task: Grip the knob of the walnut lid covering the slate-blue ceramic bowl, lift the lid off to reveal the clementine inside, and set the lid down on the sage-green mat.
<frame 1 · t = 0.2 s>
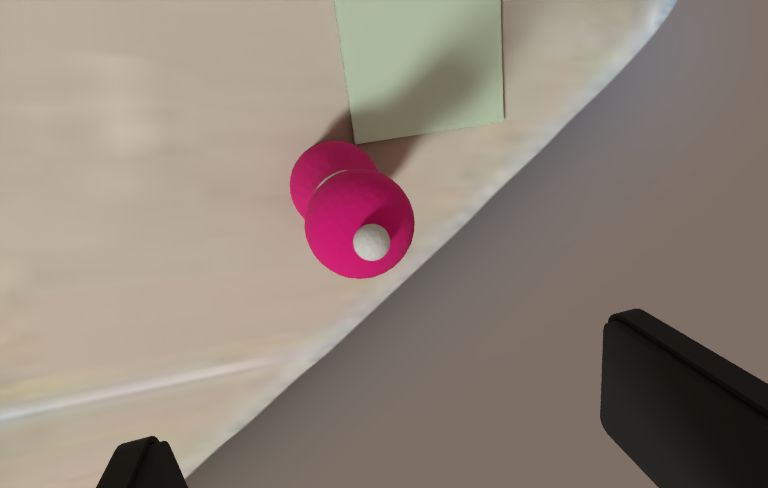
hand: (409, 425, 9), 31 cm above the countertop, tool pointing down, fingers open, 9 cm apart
pepper mill: (330, 177, 38), on the countertop
mat: (422, 48, 36), on the countertop
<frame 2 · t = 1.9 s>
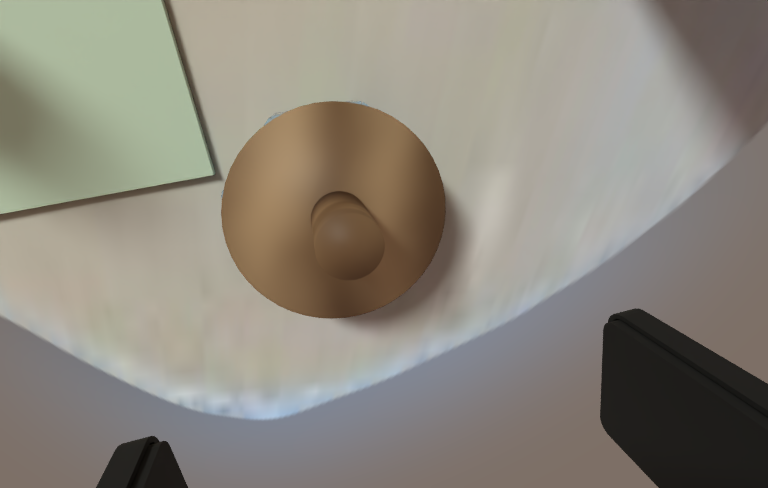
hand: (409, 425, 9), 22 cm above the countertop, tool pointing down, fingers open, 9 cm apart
lid: (338, 215, 24), point 5 cm above the countertop, touching bowl
mat: (52, 74, 24), on the countertop
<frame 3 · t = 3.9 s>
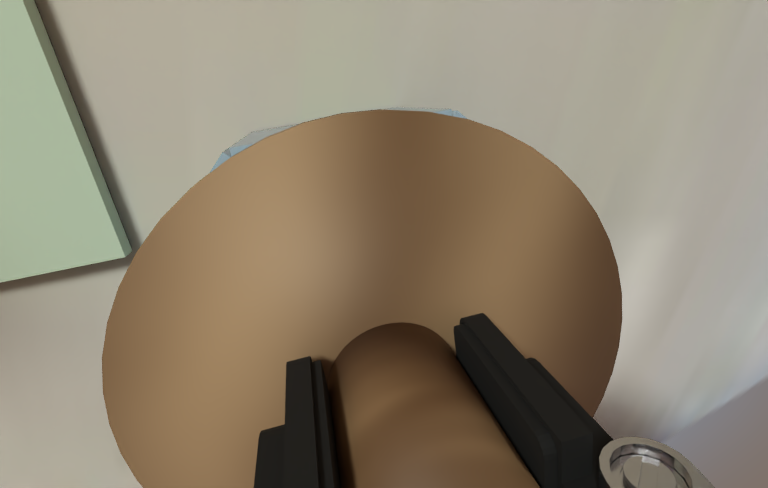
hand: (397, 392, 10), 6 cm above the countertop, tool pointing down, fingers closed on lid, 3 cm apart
lid: (386, 361, 11), point 5 cm above the countertop, touching bowl, gripper
bowl: (358, 284, 16), on the countertop
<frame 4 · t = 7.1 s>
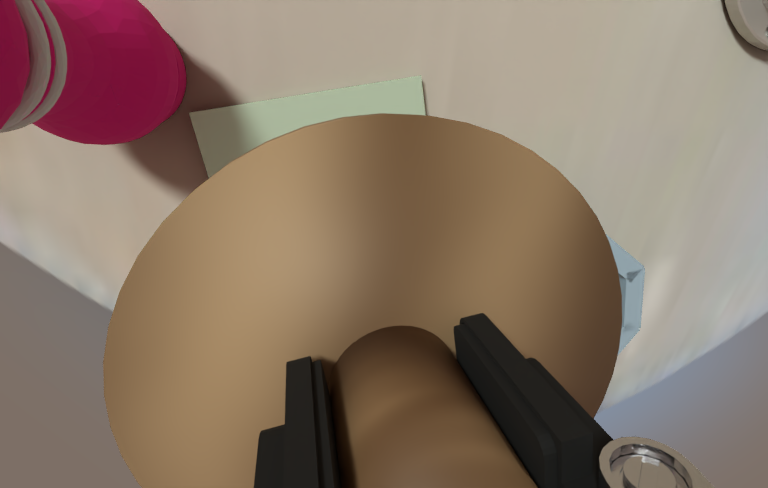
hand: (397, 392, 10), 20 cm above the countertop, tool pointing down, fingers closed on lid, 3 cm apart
pepper mill: (127, 71, 23), on the countertop
lid: (387, 364, 11), point 18 cm above the countertop, touching gripper
bowl: (528, 288, 33), on the countertop
mat: (331, 203, 28), on the countertop
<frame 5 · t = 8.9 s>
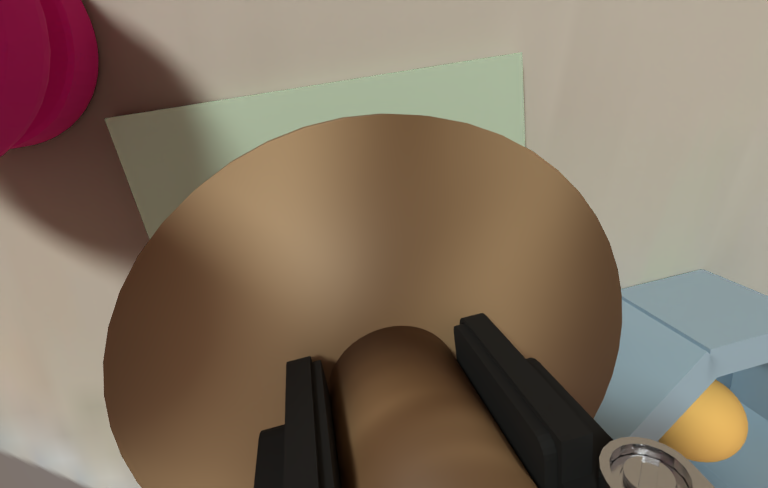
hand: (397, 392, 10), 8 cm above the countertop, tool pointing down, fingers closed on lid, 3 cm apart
clementine: (658, 387, 22), point 1 cm above the countertop, touching bowl
lid: (387, 364, 11), point 6 cm above the countertop, touching gripper
bowl: (649, 380, 22), on the countertop
mat: (360, 267, 17), on the countertop
when the fingers open (3 cm above the countertop, at t = 10.6 s): lid drops 1 cm, resting on mat.
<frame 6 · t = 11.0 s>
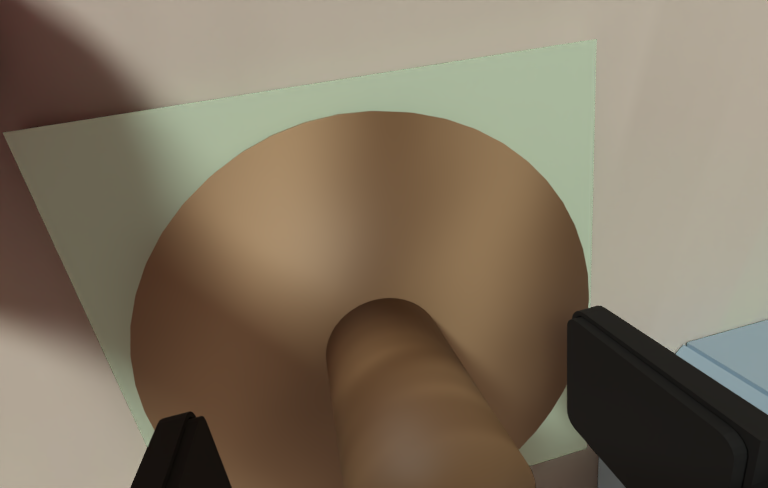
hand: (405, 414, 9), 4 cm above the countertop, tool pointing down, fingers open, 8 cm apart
lid: (378, 335, 12), point 1 cm above the countertop, touching mat
bowl: (720, 444, 18), on the countertop
mat: (372, 324, 13), on the countertop
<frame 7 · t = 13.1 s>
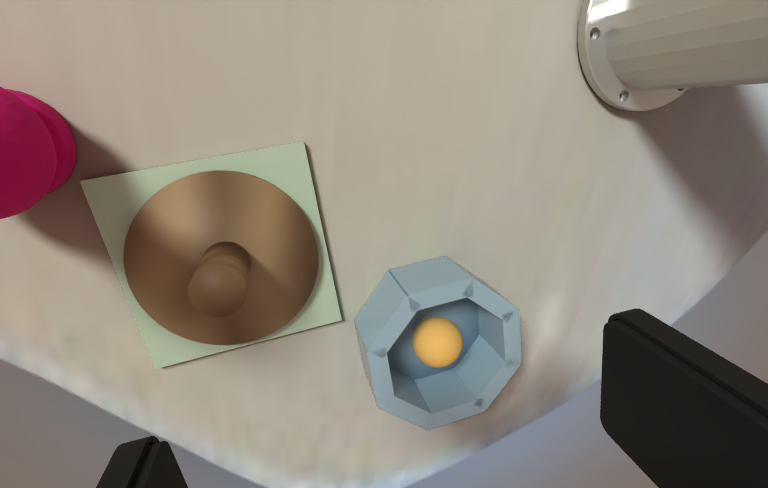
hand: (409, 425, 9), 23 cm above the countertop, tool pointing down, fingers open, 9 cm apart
clementine: (428, 329, 35), point 1 cm above the countertop, touching bowl
pepper mill: (19, 144, 25), on the countertop
lid: (227, 259, 29), point 1 cm above the countertop, touching mat
bowl: (426, 326, 36), on the countertop
mat: (227, 256, 30), on the countertop
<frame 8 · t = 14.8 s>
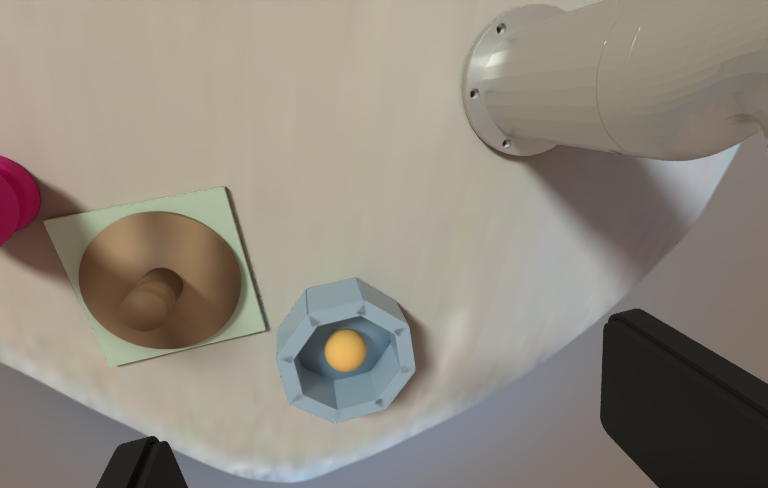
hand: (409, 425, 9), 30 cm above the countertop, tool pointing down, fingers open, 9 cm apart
clementine: (343, 339, 42), point 1 cm above the countertop, touching bowl
lid: (165, 281, 36), point 1 cm above the countertop, touching mat
bowl: (342, 335, 42), on the countertop
mat: (166, 278, 37), on the countertop
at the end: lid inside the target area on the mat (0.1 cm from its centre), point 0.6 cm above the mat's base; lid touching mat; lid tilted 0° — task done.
